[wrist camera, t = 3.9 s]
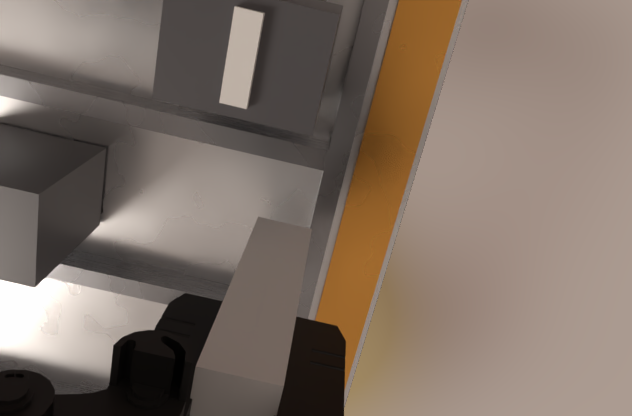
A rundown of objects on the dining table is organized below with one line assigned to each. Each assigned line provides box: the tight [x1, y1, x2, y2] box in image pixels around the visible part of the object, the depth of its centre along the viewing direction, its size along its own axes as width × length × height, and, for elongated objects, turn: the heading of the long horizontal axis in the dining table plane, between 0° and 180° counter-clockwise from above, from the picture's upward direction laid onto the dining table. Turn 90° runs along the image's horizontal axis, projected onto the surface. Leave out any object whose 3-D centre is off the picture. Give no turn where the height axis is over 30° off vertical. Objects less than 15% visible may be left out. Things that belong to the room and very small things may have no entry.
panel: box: [0, 0, 468, 407], centre depth 18 cm, size 18×22×2 cm
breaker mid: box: [0, 124, 106, 288], centre depth 16 cm, size 3×4×4 cm
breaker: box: [152, 0, 343, 136], centre depth 14 cm, size 3×4×4 cm
